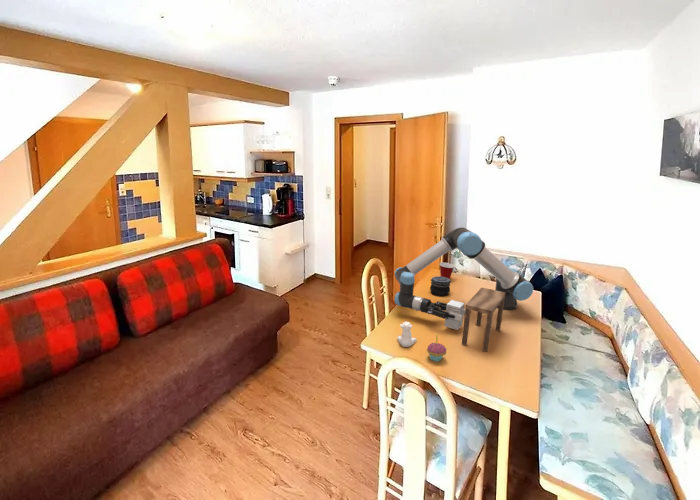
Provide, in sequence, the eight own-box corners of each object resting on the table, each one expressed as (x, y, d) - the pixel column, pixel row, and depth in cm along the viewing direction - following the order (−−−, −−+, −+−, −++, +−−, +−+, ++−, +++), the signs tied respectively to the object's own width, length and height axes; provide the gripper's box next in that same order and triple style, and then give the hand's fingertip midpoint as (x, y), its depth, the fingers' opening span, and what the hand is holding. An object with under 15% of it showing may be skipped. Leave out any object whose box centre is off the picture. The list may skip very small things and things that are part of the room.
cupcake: (424, 354, 175) (426, 330, 172) (442, 353, 176) (444, 330, 173) (429, 364, 167) (431, 339, 164) (448, 363, 167) (451, 339, 164)
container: (437, 288, 257) (438, 274, 254) (453, 293, 248) (455, 279, 245) (425, 292, 249) (426, 278, 246) (442, 298, 240) (443, 283, 237)
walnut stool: (461, 344, 184) (465, 304, 178) (477, 323, 206) (481, 287, 201) (486, 352, 178) (492, 311, 172) (500, 329, 200) (505, 292, 195)
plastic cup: (453, 283, 267) (455, 267, 264) (438, 282, 269) (439, 266, 266) (452, 278, 277) (454, 262, 274) (437, 277, 279) (439, 261, 276)
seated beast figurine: (416, 341, 186) (418, 318, 183) (415, 350, 178) (417, 326, 175) (397, 338, 188) (398, 316, 185) (395, 347, 180) (396, 324, 177)
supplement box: (448, 321, 204) (451, 299, 201) (462, 325, 200) (465, 302, 197) (443, 326, 198) (446, 303, 195) (457, 330, 194) (460, 307, 191)
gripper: (428, 305, 216) (469, 315, 204) (414, 317, 199) (457, 329, 187) (429, 292, 214) (470, 302, 202) (415, 304, 197) (458, 315, 185)
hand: (464, 315), depth 195 cm, fingers closed on supplement box, 7 cm apart
